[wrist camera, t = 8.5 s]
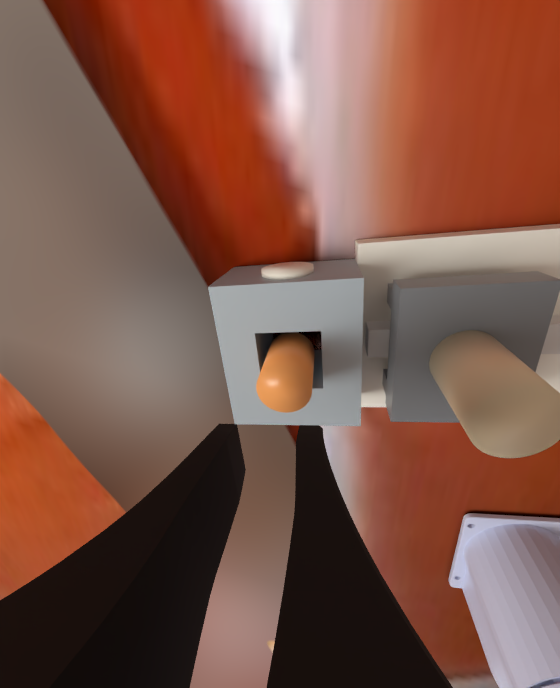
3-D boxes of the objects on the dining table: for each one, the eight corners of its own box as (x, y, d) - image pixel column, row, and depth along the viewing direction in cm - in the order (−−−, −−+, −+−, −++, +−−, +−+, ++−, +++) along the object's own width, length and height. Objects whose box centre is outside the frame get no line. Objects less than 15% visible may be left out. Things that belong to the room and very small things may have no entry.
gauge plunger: (315, 372, 17) (313, 412, 13) (271, 372, 17) (259, 412, 14) (313, 330, 16) (310, 365, 12) (267, 332, 16) (252, 365, 13)
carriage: (492, 390, 17) (587, 502, 11) (381, 390, 18) (411, 493, 12) (521, 265, 14) (675, 320, 8) (388, 273, 15) (432, 328, 9)
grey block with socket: (353, 380, 20) (360, 426, 16) (251, 381, 22) (234, 423, 18) (355, 253, 17) (364, 270, 13) (233, 261, 18) (206, 280, 14)
